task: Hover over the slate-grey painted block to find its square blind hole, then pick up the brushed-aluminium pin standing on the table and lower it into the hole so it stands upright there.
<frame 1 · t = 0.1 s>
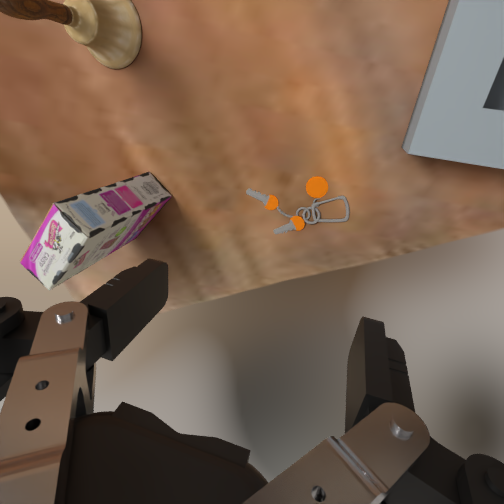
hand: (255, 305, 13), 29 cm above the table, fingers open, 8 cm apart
candy bar box: (142, 206, 48), on the table
key chain: (297, 205, 41), on the table
hand bell: (113, 29, 39), on the table
bore block: (503, 82, 30), on the table
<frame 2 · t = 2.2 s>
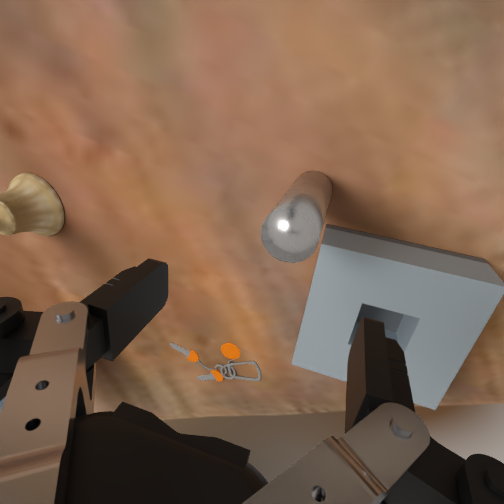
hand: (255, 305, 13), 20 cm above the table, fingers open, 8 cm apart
key chain: (216, 359, 44), on the table
hand bell: (39, 204, 41), on the table
pin: (312, 190, 30), on the table
bore block: (378, 301, 33), on the table
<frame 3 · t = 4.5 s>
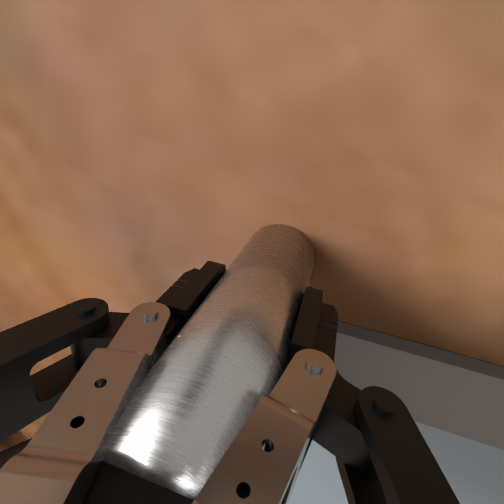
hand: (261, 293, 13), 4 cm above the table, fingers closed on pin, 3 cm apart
pin: (280, 256, 17), on the table, touching gripper
bore block: (396, 433, 19), on the table
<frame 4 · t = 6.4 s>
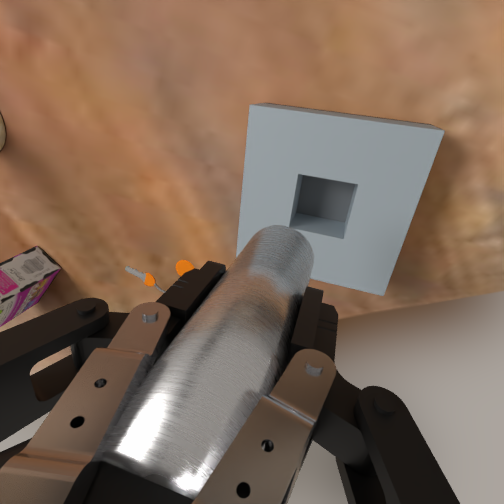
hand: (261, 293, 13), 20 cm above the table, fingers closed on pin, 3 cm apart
candy bar box: (38, 274, 49), on the table
key chain: (173, 282, 42), on the table
pin: (279, 257, 17), point 16 cm above the table, touching gripper
bore block: (326, 191, 31), on the table
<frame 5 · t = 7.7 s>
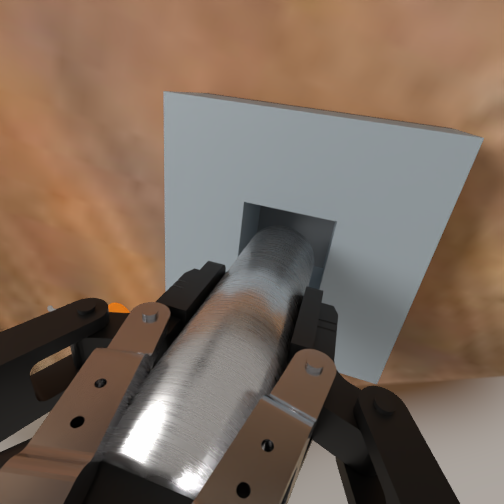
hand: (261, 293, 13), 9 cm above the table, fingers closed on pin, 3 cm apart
pin: (280, 257, 17), point 5 cm above the table, touching gripper
bore block: (296, 222, 21), on the table
when the fingers open (6 cm above the table, at t = 8.7 s): pin stays where it is, resting on bore block.
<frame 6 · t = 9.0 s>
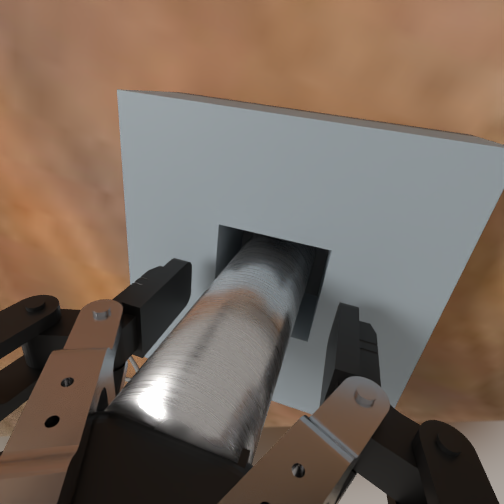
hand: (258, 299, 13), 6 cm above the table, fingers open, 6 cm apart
pin: (282, 249, 18), point 1 cm above the table, touching bore block
bore block: (286, 242, 18), on the table
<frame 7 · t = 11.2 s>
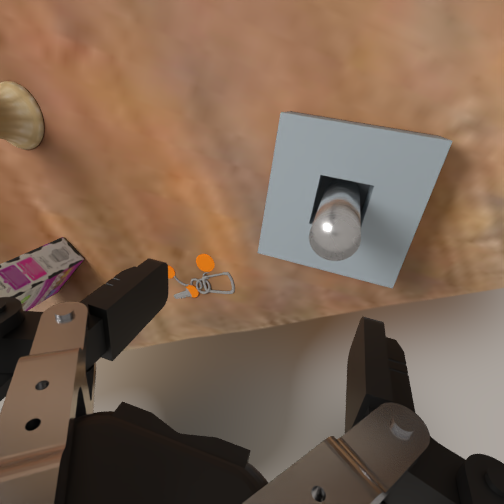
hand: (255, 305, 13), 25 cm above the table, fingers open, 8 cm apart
candy bar box: (61, 264, 52), on the table
key chain: (192, 275, 45), on the table
hand bell: (19, 116, 42), on the table
pin: (341, 195, 33), point 1 cm above the table, touching bore block
bore block: (342, 192, 34), on the table
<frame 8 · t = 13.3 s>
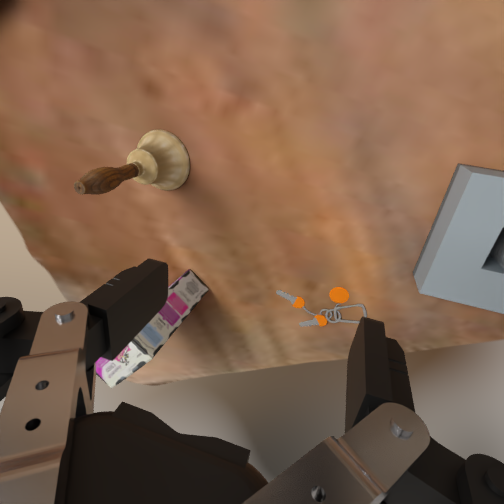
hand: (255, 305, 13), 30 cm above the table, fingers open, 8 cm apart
candy bar box: (180, 293, 54), on the table
key chain: (321, 305, 48), on the table
hand bell: (164, 160, 45), on the table
pin: (501, 239, 35), point 1 cm above the table, touching bore block
bore block: (498, 235, 36), on the table
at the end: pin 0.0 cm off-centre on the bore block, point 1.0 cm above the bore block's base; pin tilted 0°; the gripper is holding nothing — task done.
